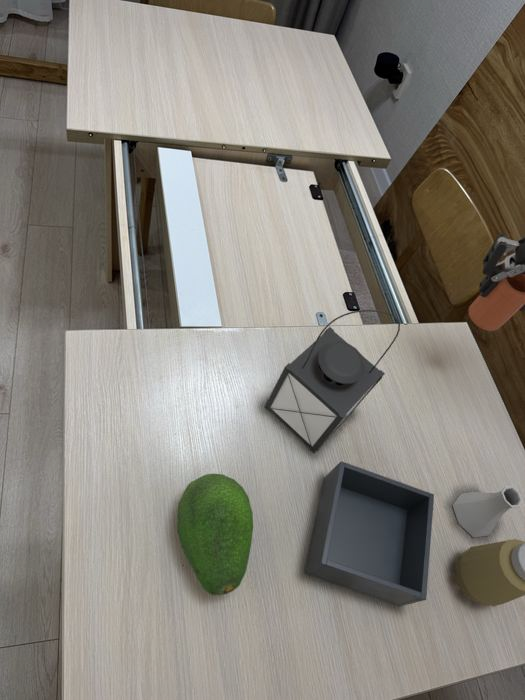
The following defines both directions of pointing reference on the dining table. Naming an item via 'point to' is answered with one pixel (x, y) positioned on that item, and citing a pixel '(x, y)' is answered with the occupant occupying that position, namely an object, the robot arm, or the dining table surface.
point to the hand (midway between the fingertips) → (501, 299)
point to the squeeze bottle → (493, 572)
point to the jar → (499, 303)
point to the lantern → (323, 386)
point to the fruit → (216, 531)
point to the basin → (372, 535)
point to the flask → (484, 509)
